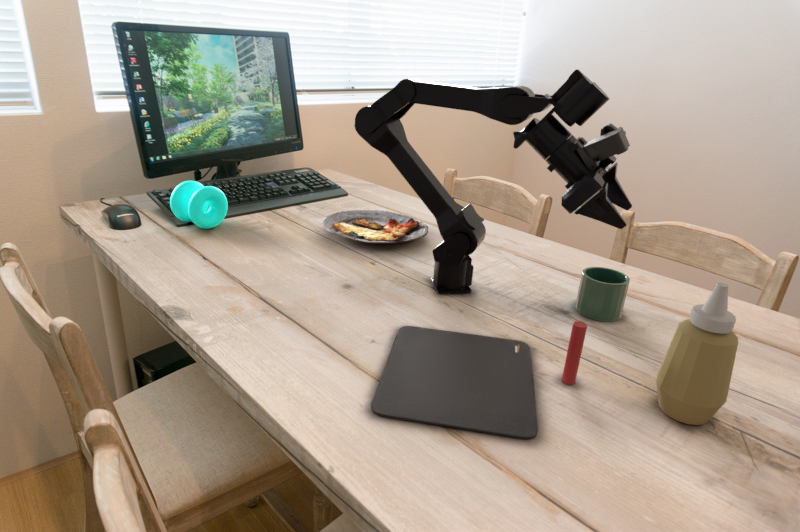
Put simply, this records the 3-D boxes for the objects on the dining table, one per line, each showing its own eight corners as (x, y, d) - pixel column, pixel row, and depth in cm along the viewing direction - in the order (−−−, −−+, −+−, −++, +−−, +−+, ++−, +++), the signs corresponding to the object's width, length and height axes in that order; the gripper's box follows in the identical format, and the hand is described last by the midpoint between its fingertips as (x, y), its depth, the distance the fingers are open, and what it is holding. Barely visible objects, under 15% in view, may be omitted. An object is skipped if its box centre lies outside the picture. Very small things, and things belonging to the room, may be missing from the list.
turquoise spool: (206, 215, 133) (202, 176, 129) (231, 224, 128) (229, 184, 124) (169, 224, 125) (165, 182, 122) (195, 234, 120) (191, 191, 116)
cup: (589, 322, 90) (597, 285, 88) (567, 302, 97) (574, 267, 95) (630, 320, 92) (639, 284, 89) (605, 301, 99) (613, 266, 96)
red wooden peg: (565, 385, 72) (577, 327, 69) (559, 378, 74) (570, 321, 71) (577, 384, 73) (589, 327, 69) (571, 377, 74) (583, 320, 71)
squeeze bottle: (637, 392, 72) (670, 270, 65) (693, 392, 72) (732, 271, 66) (670, 432, 64) (712, 299, 57) (732, 432, 65) (780, 300, 58)
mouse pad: (538, 441, 61) (539, 439, 61) (367, 414, 64) (367, 412, 64) (529, 343, 82) (529, 341, 82) (400, 326, 85) (400, 324, 85)
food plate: (444, 232, 130) (445, 219, 129) (392, 259, 112) (393, 243, 110) (362, 212, 142) (362, 200, 141) (303, 233, 124) (303, 219, 123)
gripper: (588, 121, 73) (668, 202, 72) (606, 101, 88) (673, 168, 87) (530, 175, 79) (603, 250, 79) (556, 148, 94) (618, 211, 94)
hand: (627, 217), depth 85 cm, fingers open, 9 cm apart
